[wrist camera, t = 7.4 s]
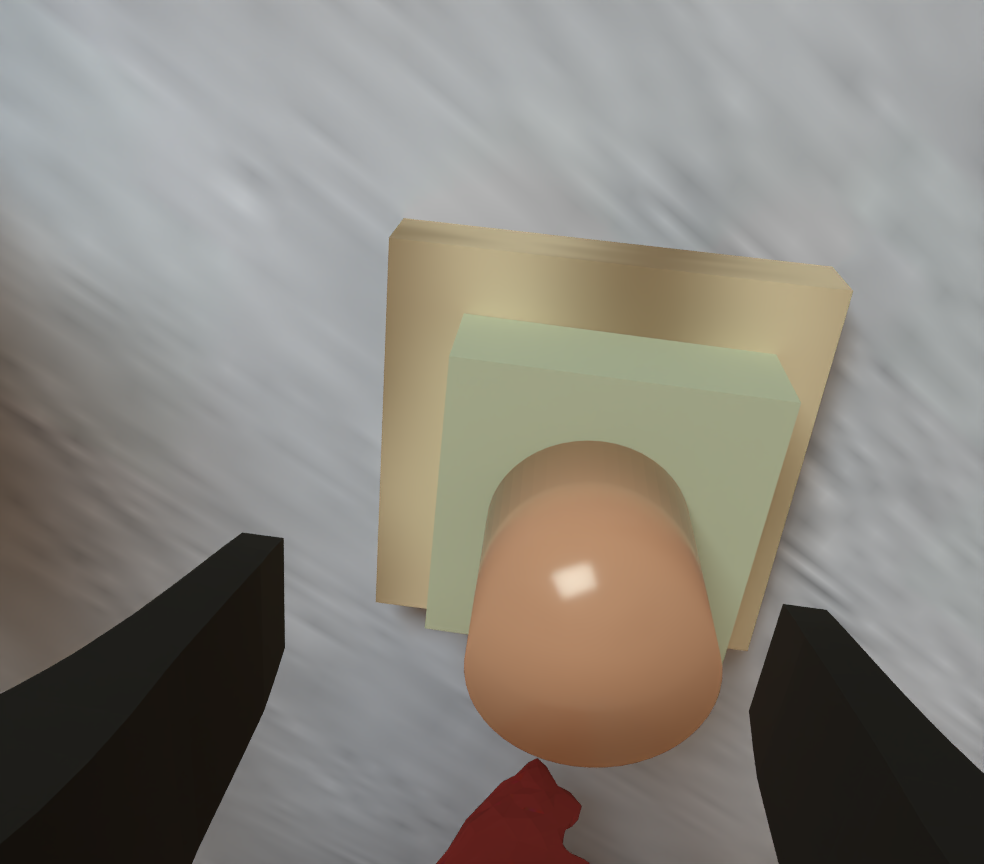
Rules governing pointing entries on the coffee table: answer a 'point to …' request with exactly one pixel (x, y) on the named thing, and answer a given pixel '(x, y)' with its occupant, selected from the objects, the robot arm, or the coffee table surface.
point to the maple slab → (585, 305)
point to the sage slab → (609, 439)
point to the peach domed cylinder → (591, 610)
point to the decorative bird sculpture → (519, 823)
